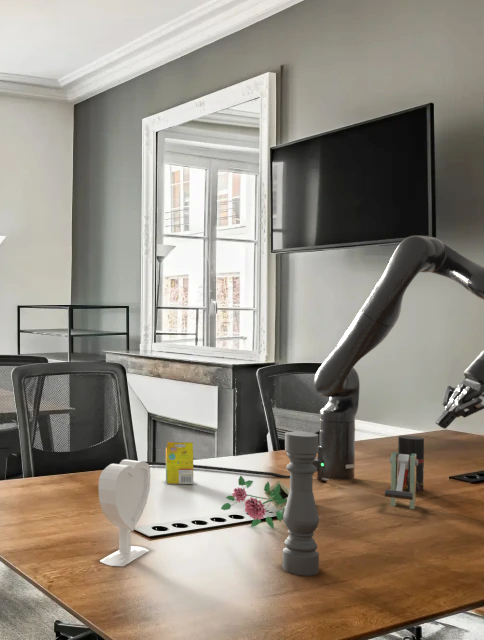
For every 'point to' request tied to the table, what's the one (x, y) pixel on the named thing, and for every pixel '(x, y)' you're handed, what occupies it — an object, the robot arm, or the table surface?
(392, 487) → the bracket
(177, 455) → the crayon box
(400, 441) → the deodorant
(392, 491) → the lever
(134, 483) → the heart sculpture
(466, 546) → the table surface
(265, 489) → the flower vase
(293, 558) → the candle holder
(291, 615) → the table surface
